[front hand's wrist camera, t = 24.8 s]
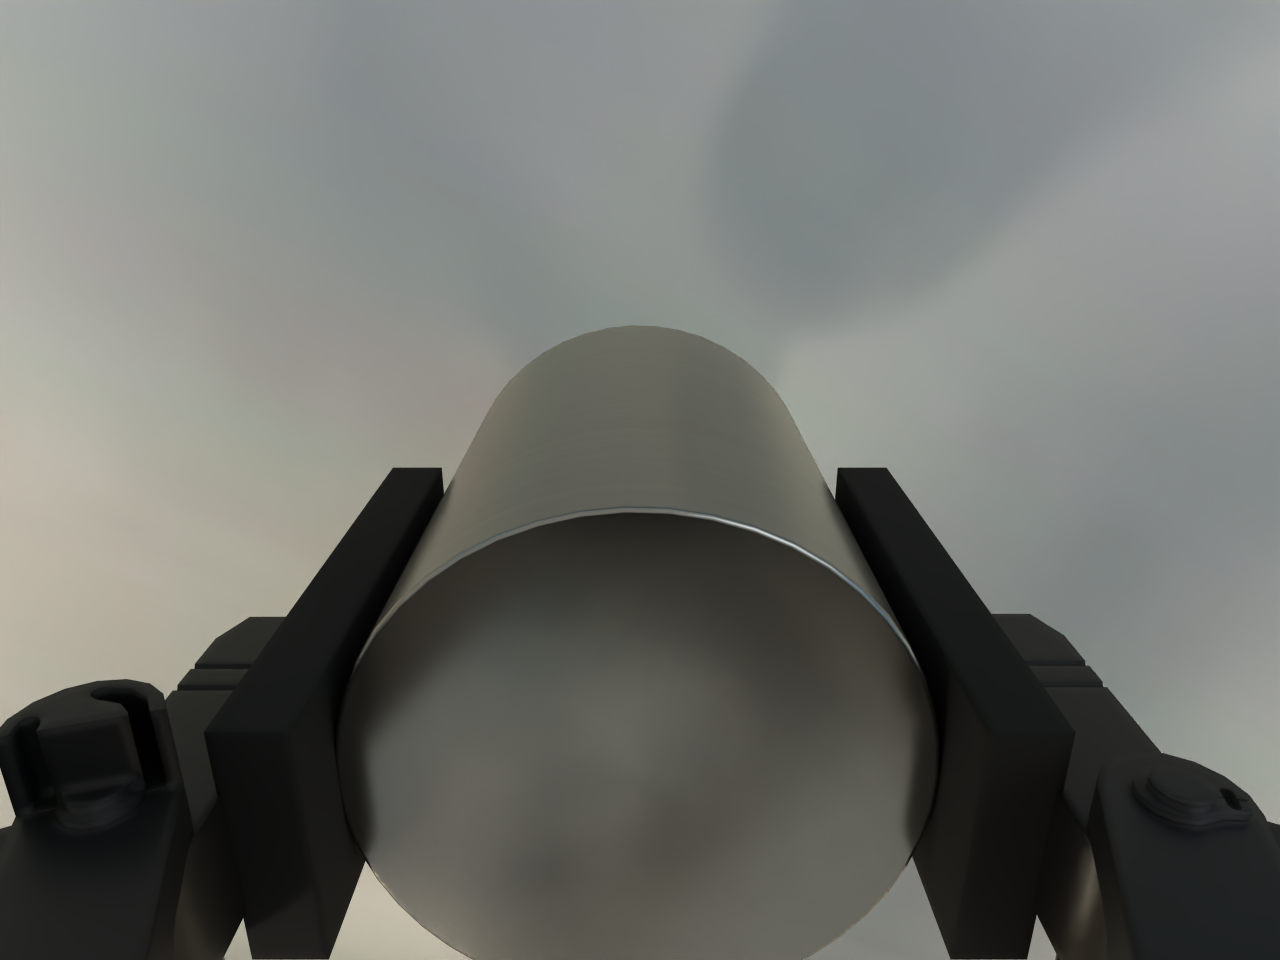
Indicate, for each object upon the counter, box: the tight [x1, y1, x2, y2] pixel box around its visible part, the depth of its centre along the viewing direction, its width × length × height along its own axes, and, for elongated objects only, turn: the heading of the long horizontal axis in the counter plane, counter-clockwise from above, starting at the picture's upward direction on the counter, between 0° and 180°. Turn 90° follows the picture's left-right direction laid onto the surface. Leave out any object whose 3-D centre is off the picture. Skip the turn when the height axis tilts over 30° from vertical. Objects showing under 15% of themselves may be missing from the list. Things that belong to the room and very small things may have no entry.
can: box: [335, 326, 940, 960], centre depth 13 cm, size 6×6×8 cm
